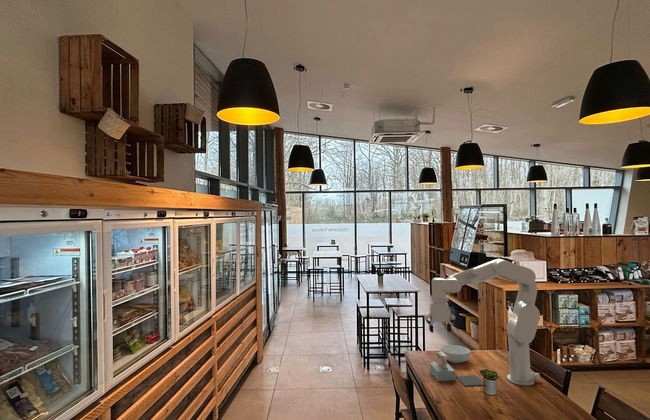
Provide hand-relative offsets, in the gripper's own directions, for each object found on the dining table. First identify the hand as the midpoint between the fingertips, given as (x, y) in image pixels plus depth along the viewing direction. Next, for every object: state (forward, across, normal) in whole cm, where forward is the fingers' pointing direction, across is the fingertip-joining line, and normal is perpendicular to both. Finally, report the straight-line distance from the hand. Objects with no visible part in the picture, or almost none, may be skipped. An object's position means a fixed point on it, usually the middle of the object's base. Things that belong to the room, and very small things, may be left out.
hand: (440, 331), depth 195 cm
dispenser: (+24, 0, 0) cm, 24 cm away
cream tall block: (+24, 0, 0) cm, 24 cm away
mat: (+24, -12, +8) cm, 28 cm away
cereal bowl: (+24, -16, -20) cm, 35 cm away
